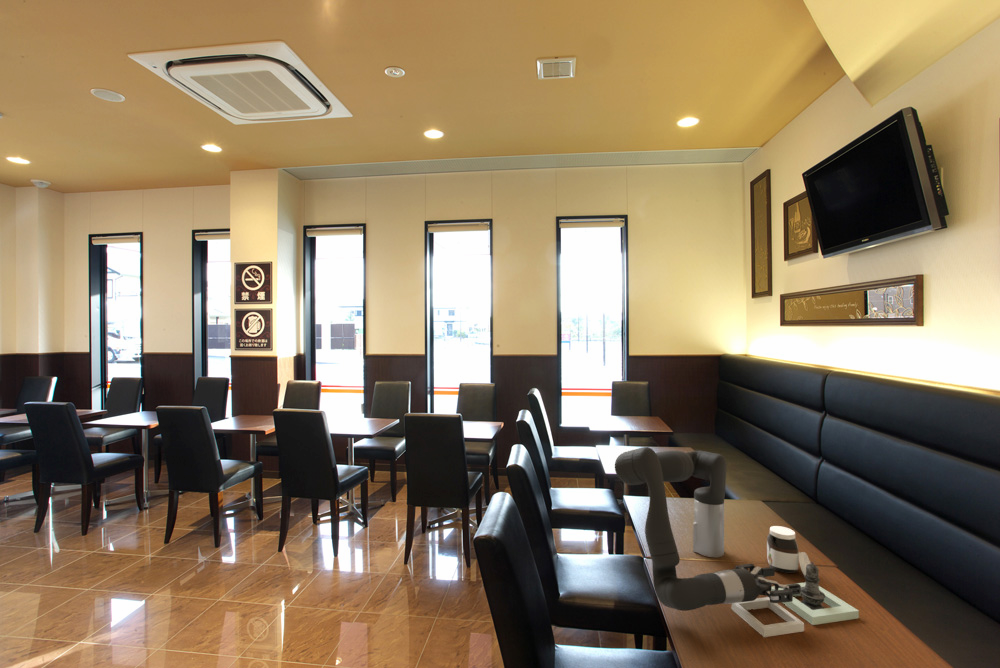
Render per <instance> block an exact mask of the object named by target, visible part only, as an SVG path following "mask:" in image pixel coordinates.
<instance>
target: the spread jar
mask: <svg viewBox="0 0 1000 668" xmlns="http://www.w3.org/2000/svg"><path fill="white" fill-rule="evenodd" d="M766 537H767V538H766V557H767V563H768V566H769V567H773V568H774V569H775V571H776V572H779V571H780V572H779V573H783V572H785V573H784V574H793V573H796V572H798V570H799V566H800V570H801V572H802V574H803V577H804V576H805V575H806V565H808V564H811V561H810V559H809V558H810V557H809V556H808V554H807V553H806V552H805V551H799V545H798V543H797V540H796V532H795V530H792V529H791V528H789V527H785V526H782V525H781V526H780V525H771V526H770V527H769V533H768V534H767V536H766Z"/></svg>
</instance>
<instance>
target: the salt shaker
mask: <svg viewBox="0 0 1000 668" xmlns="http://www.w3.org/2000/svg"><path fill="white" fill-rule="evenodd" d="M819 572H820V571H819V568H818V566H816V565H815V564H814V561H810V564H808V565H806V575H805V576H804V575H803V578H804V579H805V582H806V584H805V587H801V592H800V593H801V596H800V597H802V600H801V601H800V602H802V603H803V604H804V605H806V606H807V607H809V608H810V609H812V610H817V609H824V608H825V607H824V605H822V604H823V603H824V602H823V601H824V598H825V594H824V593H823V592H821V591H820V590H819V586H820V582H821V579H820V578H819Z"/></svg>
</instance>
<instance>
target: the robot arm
mask: <svg viewBox="0 0 1000 668" xmlns="http://www.w3.org/2000/svg"><path fill="white" fill-rule="evenodd" d="M614 470H615V474H616V475H617V477H618V479H619V480H620V481H621V482H622V483H624V484H626V485H628V486H636V485H637V486H638V485H643V484H646V485H647V488H648V492H649V493H648V494H649V504H648V510H647V515H646V520H645V523H644V527H645V528H644V535H645V539H646V546H647V548H648V552H649V555H650V558H651V563H652V565H651V566H652V580H653V587H654V591H655V593H656V597H657V598H658V601H659V602H660V603H661V604H662V605H663V606H665V607H667V608H670V609H674V610H677V611H685V612H686V611H693V610H697V609H700V608H703V607H706V606H715V605H721V604H727V605H729V604H731V605H732V603H740V602H747V601H754V600H755V599H756V598H759V596H764V597H769V598H770V602H771V603H778V604H779V603H781V604H783V603H782V602H792V601H793V595H794V594H800V592H801V586H800V585H799V584H796V583H791V584H789V585H788V584H781V583H779V582H778V581H776V580H771V579H768V578H767V577H774V576H775V574H776V570H775V569H774V568H773V567H770V566H769V567H768V566H767V567H760V566H755V564H754V563H745V564H739V565H735V566H734V569H733V568H732V569H725V570H724V569H723V570H718V571H715V572H709V573H700V574H696V575H694V576H693V577H678V576H677V568H676V566H678V565H679V564H680V560H681V559H680V554H679V551H678V547H677V544H676V541H675V536H674V534H673V530H672V525H671V519H670V516H669V510H668V503H667V495H666V489H665V483H675V482H676V483H679V482H684V481H687V480H689V479H690V478H691V477H694V478H697V479H701V480H705V481H710V482H709V483H710V484H709V486H702V487H698V488H696V489H694V492H693V499H694V500H693V501H694V502H693V508H694V510H693V511H694V512H693V517H694V519H693V523H692V528H693V529H692V534H693V535H692V537H693V539H692V541H693V542H692V544H693V545H692V548H693V549H692V551H693V552H694V553H697V554H699V555H701V556H705V557H709V558H721V557H723V556H725V496H726V486H727V485H726V482H727V461H726V458H725V456H724V455H723V454H720V453H716V452H715V453H714V452H709V451H705V450H693V451H687V452H684V451H681V450H663V451H659V452H655V450H654V449H653V448H651V447H648V446H644V447H639V448H635V449H632V450H628V451H625V452H623V453H620V454H619V455H618V457H616V460H615V462H614ZM748 569H749V570H748ZM772 585H773V586H775V590H773V591H771V589H772ZM778 588H782V589H784V590H778Z"/></svg>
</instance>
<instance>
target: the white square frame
mask: <svg viewBox="0 0 1000 668" xmlns="http://www.w3.org/2000/svg"><path fill="white" fill-rule="evenodd" d="M730 607H731V610H732V612H734V613H735V614H736V615H738V617H740V618H741V619H742V620H743V621H745V622H746V623H747V624H748V625H749V626H750V627H751V628H753V629H754V630H755V631H756V632H757V633H759V635H761V636H762V637H763V638H768V637H773V636H774V637H775V636H781V635H787V634H793V633H794V634H795V633H802V632H805V623H804V622H803V621H802V620H801V619H799V618H798V617H797V616H795V615H794V614H793V613H791V612H789V611H788V610H787V609H786V608H784V607H783V606H781V605H780V604H779V603H771V602H770V598H769V597H768V596H764V597H757V598H756V599H755V600H754V601H747V602H740V603H732V604H731V606H730ZM766 608H768V609H769V610H771V611H772V612H773V613H775V614H776V615H778V617H780V618H781V619H783V620H784V621H785V622H778V623H771V624H770V623H769V624H763V623H762V622H761V621H760V620H759V619H757V618H756V617H755V616H754V615H753V614H752V613H751V612H749V611H750V610H751V609H753V610H757V609H758V610H759V609H766Z"/></svg>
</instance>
